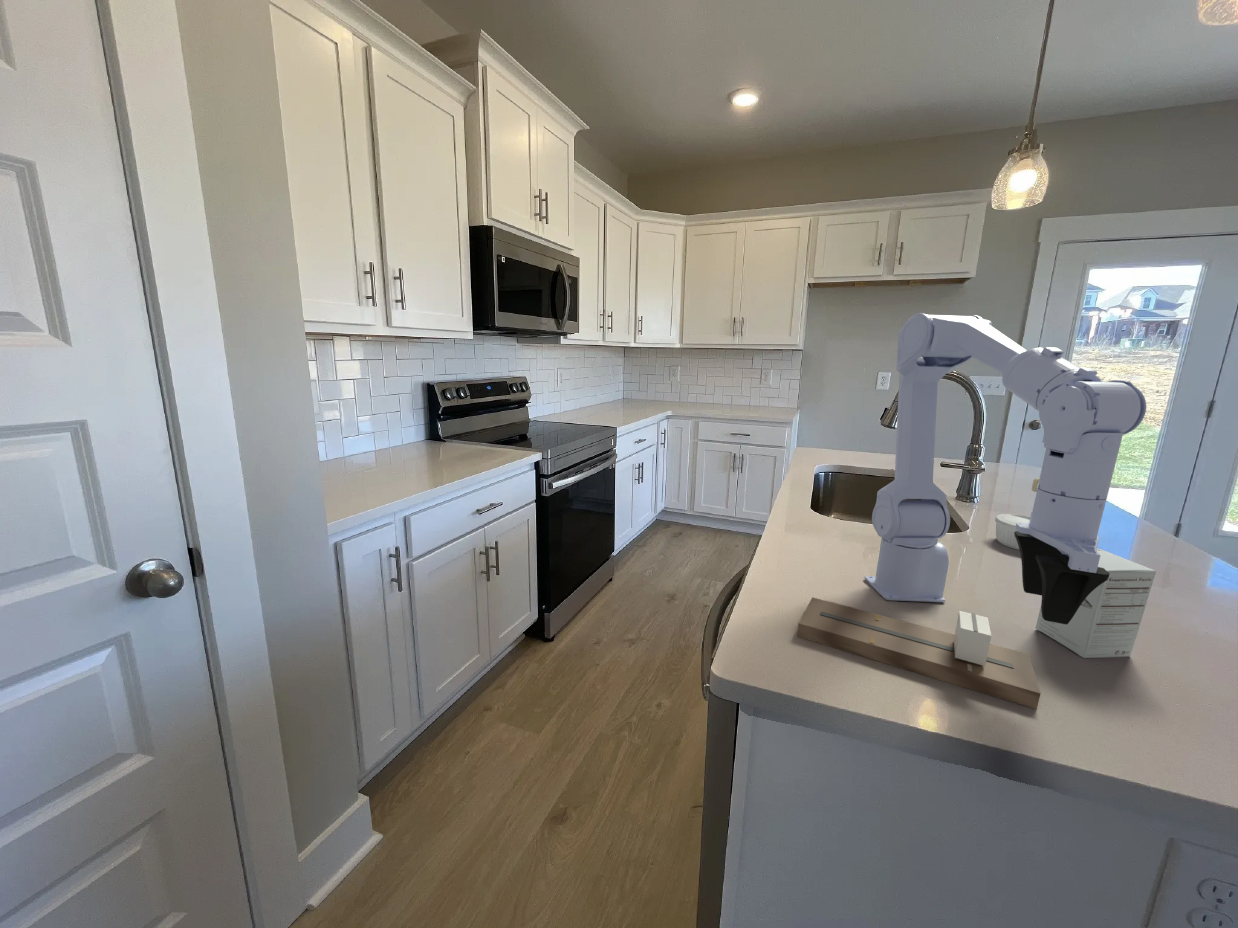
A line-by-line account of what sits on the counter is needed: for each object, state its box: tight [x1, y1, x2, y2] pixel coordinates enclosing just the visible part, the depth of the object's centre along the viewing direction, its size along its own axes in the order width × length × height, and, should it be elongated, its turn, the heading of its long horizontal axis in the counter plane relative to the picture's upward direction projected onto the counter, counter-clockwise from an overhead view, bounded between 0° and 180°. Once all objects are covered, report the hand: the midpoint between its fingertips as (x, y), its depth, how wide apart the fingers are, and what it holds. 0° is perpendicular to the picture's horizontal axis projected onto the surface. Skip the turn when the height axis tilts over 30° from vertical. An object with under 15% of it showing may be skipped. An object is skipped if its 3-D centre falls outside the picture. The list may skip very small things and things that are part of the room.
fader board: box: [796, 597, 1042, 710], centre depth 67 cm, size 26×9×2 cm, turn 58°
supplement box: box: [1035, 548, 1157, 659], centre depth 69 cm, size 7×7×13 cm
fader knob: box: [954, 610, 992, 666], centre depth 63 cm, size 3×5×4 cm, turn 148°
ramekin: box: [994, 513, 1031, 551], centre depth 106 cm, size 11×11×5 cm
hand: (1044, 606), depth 58 cm, fingers open, 7 cm apart
